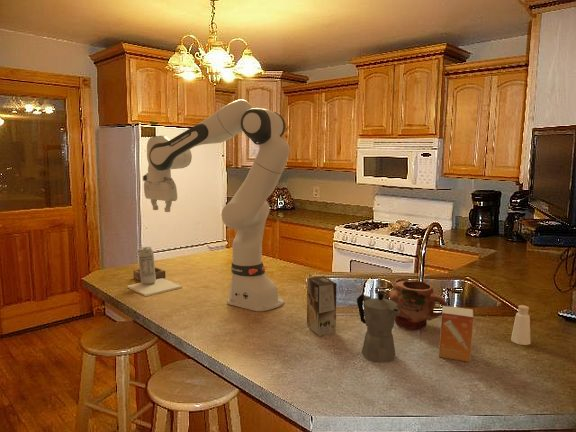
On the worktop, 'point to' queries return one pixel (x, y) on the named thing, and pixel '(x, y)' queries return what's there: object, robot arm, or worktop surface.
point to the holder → (158, 273)
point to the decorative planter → (415, 304)
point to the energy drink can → (147, 265)
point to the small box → (456, 333)
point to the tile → (154, 287)
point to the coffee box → (321, 305)
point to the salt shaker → (521, 326)
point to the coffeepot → (378, 327)
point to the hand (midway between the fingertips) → (161, 211)
